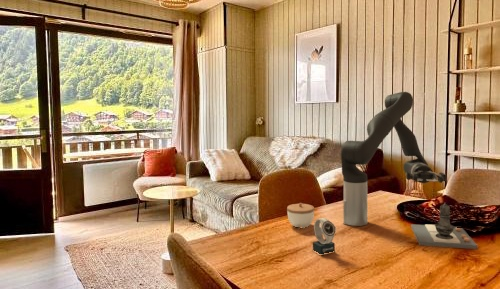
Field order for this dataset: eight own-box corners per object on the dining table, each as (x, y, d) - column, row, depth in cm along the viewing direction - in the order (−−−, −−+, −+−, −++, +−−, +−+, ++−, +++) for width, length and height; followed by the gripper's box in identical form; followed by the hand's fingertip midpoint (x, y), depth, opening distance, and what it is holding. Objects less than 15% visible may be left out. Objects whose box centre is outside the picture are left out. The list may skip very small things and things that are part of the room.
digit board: (419, 245, 119) (419, 238, 119) (411, 227, 136) (411, 221, 136) (477, 249, 114) (477, 242, 114) (461, 230, 131) (461, 224, 131)
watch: (324, 258, 111) (323, 224, 110) (309, 249, 118) (309, 217, 117) (338, 254, 113) (338, 221, 112) (323, 246, 121) (323, 214, 120)
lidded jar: (314, 222, 146) (314, 199, 145) (314, 231, 136) (314, 207, 135) (288, 221, 148) (287, 199, 147) (286, 230, 138) (285, 206, 137)
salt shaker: (457, 239, 118) (458, 204, 117) (440, 239, 118) (440, 204, 117) (448, 233, 124) (449, 199, 123) (431, 233, 124) (431, 200, 123)
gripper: (403, 163, 153) (408, 169, 138) (440, 164, 149) (449, 170, 134) (403, 180, 154) (408, 188, 139) (439, 181, 150) (449, 190, 134)
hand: (428, 179), depth 136 cm, fingers open, 8 cm apart
